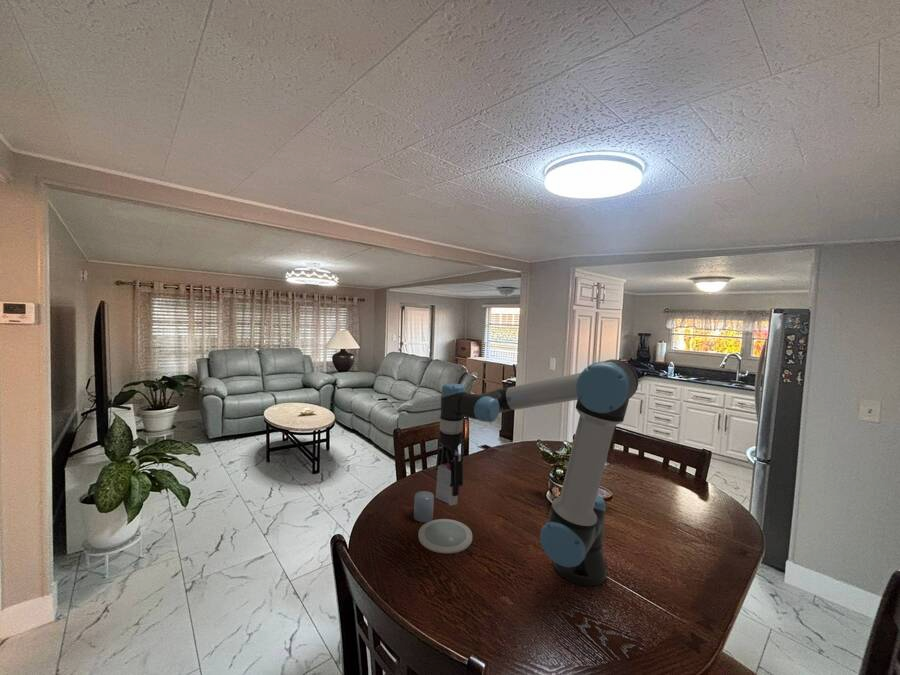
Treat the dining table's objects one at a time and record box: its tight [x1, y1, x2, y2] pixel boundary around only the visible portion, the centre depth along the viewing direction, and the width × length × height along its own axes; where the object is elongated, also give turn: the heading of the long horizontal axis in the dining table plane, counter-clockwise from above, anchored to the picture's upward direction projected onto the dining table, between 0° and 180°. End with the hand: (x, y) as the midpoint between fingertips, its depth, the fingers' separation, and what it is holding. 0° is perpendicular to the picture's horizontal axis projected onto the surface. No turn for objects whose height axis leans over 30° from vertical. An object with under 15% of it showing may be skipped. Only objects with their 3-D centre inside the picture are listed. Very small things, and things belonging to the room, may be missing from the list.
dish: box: [417, 518, 473, 555], centre depth 125 cm, size 18×18×1 cm
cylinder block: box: [413, 490, 435, 523], centre depth 136 cm, size 7×7×8 cm
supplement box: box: [435, 463, 461, 506], centre depth 124 cm, size 6×6×12 cm
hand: (447, 498), depth 124 cm, fingers closed on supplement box, 7 cm apart
